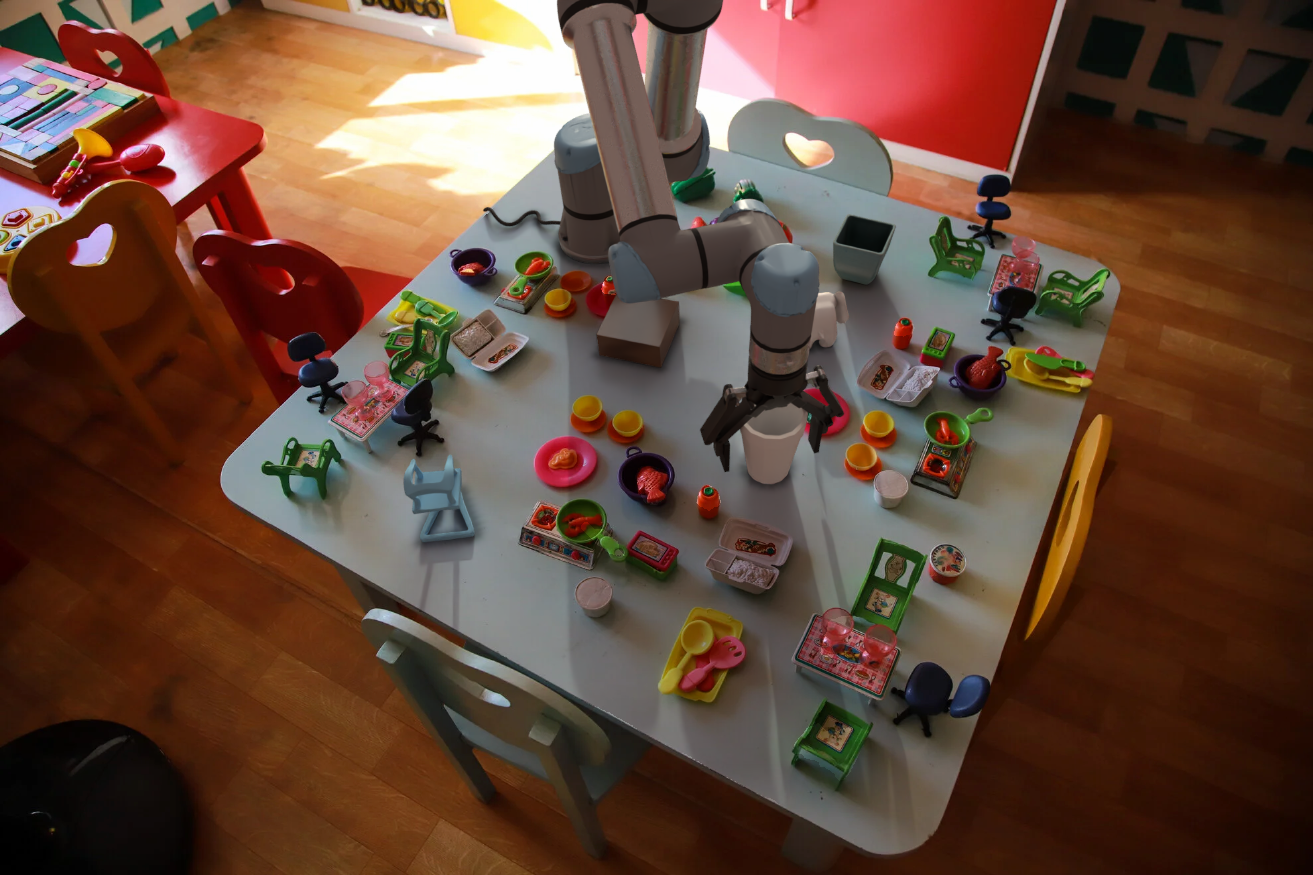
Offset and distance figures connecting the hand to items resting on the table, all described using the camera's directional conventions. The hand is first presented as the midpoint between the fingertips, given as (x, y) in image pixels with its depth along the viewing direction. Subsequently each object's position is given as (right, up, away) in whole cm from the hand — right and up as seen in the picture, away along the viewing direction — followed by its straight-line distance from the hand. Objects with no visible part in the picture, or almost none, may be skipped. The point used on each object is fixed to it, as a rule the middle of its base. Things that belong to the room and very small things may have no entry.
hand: (769, 455), depth 121 cm
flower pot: (+20, +32, +27) cm, 47 cm away
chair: (-47, -9, 0) cm, 48 cm away
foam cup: (0, -2, +3) cm, 3 cm away
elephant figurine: (+10, +20, +19) cm, 29 cm away
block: (-19, +20, +20) cm, 34 cm away
